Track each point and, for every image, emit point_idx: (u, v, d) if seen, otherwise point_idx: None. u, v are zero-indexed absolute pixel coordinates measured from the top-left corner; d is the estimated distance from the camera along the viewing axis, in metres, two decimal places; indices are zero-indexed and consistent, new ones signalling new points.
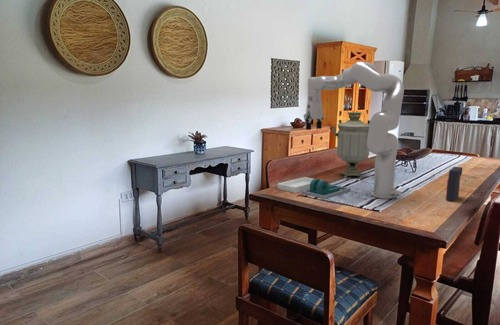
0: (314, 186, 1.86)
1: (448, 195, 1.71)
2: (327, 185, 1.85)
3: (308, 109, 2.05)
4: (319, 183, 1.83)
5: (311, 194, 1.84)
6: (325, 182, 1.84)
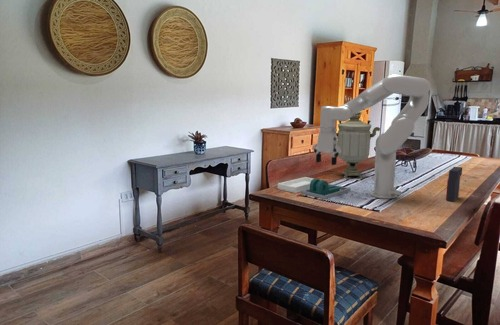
0: (314, 186, 1.86)
1: (448, 195, 1.71)
2: (327, 185, 1.85)
3: (334, 142, 1.82)
4: (319, 183, 1.83)
5: (311, 194, 1.84)
6: (325, 182, 1.84)
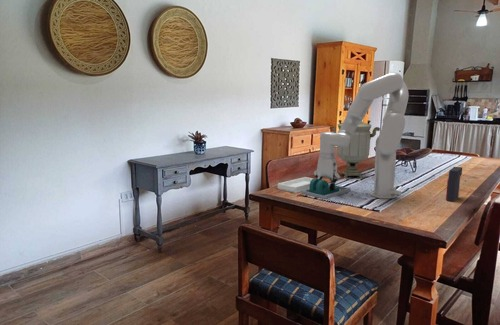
0: (314, 186, 1.86)
1: (448, 195, 1.71)
2: (327, 185, 1.85)
3: (334, 167, 1.84)
4: (319, 183, 1.83)
5: (311, 194, 1.84)
6: (325, 182, 1.84)
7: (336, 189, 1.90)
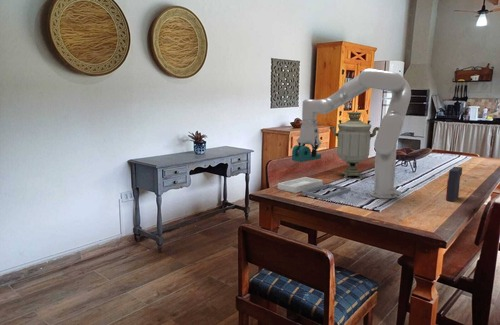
0: (296, 152, 1.91)
1: (448, 195, 1.71)
2: (309, 151, 1.90)
3: (316, 134, 1.90)
4: (301, 148, 1.88)
5: (311, 194, 1.84)
6: (307, 148, 1.89)
7: (318, 156, 1.96)
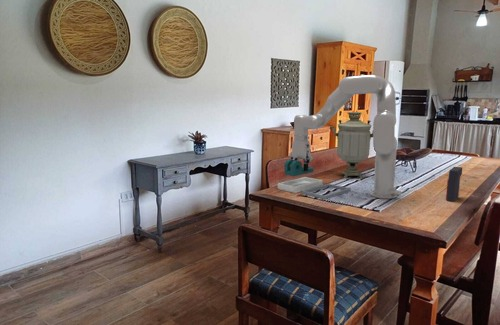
0: (288, 166, 1.96)
1: (448, 195, 1.71)
2: (300, 165, 1.95)
3: (307, 149, 1.95)
4: (293, 163, 1.93)
5: (311, 194, 1.84)
6: (298, 162, 1.94)
7: (310, 170, 2.01)
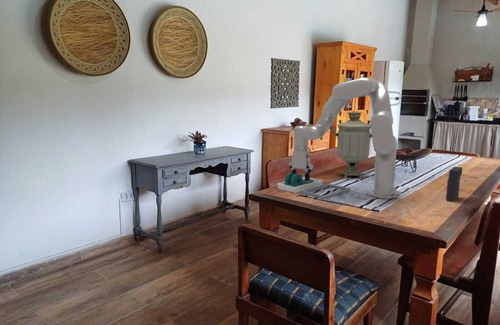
0: (289, 179, 1.97)
1: (448, 195, 1.71)
2: (301, 178, 1.97)
3: (307, 159, 1.96)
4: (293, 176, 1.94)
5: (311, 194, 1.84)
6: (299, 175, 1.95)
7: (310, 182, 2.02)
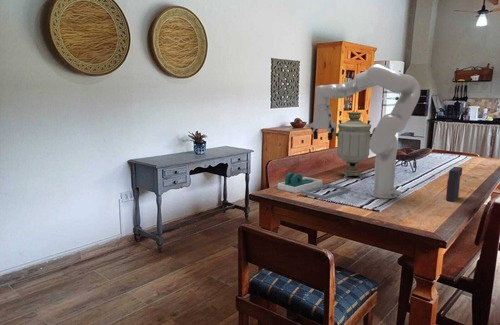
0: (289, 179, 1.97)
1: (448, 195, 1.71)
2: (301, 178, 1.97)
3: (330, 118, 1.95)
4: (293, 176, 1.94)
5: (311, 194, 1.84)
6: (299, 175, 1.95)
7: (310, 182, 2.02)
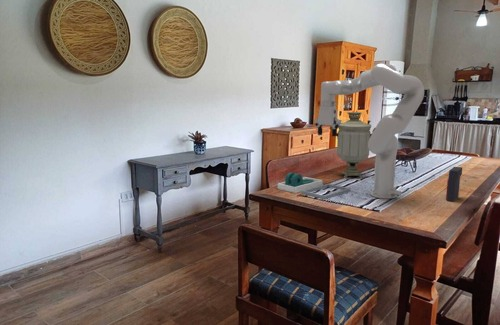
0: (289, 179, 1.97)
1: (448, 195, 1.71)
2: (301, 178, 1.97)
3: (334, 115, 1.96)
4: (294, 176, 1.94)
5: (311, 194, 1.84)
6: (299, 175, 1.95)
7: (310, 182, 2.02)
